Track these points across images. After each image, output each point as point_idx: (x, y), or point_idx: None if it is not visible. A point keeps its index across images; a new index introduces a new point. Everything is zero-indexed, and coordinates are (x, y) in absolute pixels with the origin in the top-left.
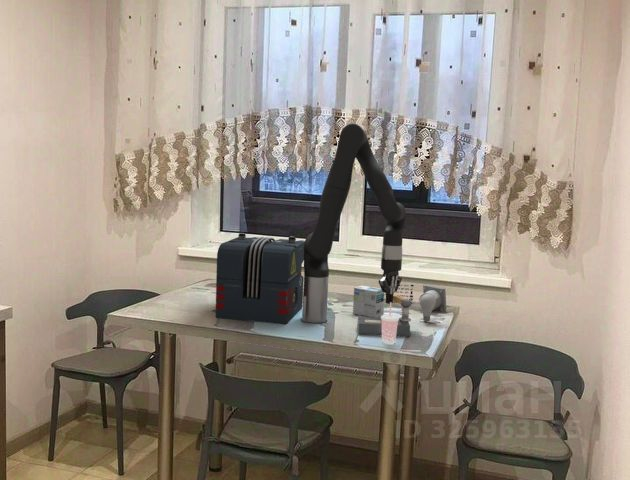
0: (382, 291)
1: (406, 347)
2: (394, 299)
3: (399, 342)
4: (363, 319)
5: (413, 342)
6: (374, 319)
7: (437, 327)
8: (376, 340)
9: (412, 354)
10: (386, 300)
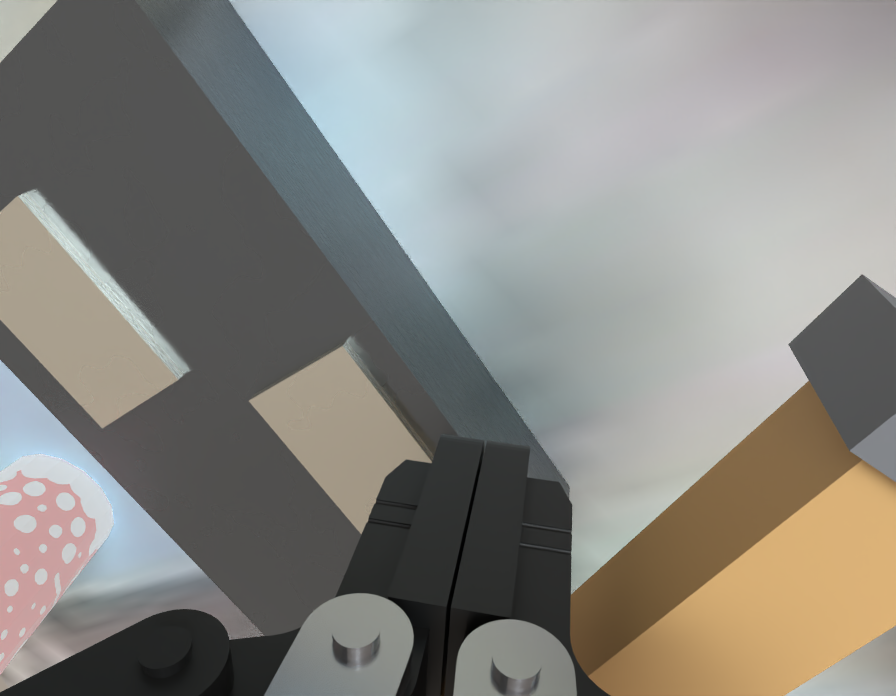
0: (130, 627)
1: (87, 628)
2: (587, 611)
3: (138, 562)
4: (46, 149)
5: (230, 636)
6: (186, 275)
7: (873, 690)
8: (12, 406)
9: (12, 685)
10: (380, 501)
